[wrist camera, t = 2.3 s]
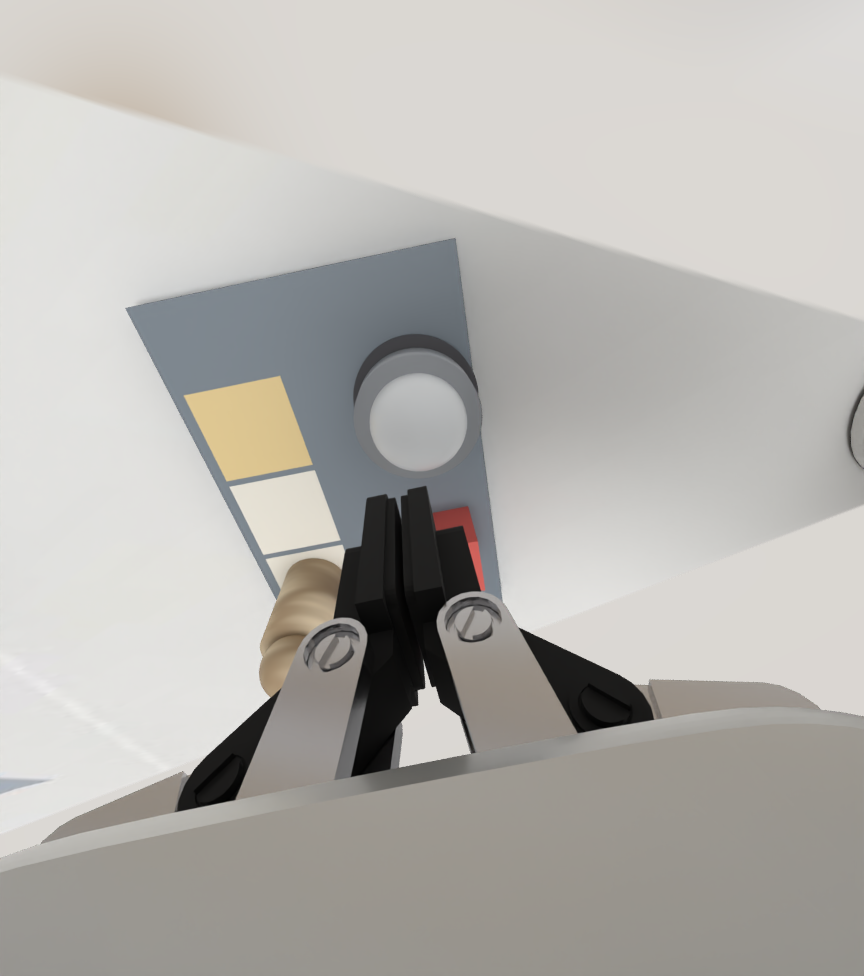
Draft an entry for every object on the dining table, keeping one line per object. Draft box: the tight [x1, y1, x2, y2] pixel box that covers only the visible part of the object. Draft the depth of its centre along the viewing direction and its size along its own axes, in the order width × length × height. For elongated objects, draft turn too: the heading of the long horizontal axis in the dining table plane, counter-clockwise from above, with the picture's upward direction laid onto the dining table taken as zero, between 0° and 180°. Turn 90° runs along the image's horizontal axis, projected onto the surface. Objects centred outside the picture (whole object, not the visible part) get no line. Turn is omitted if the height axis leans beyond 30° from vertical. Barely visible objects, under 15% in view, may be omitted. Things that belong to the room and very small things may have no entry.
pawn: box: [259, 558, 342, 697], centre depth 25 cm, size 4×4×9 cm
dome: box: [353, 348, 482, 479], centre depth 19 cm, size 6×6×5 cm
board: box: [126, 238, 503, 602], centre depth 24 cm, size 17×25×6 cm
